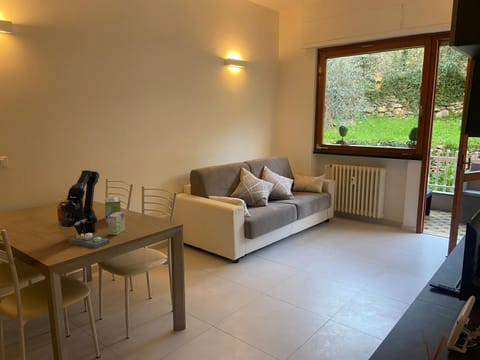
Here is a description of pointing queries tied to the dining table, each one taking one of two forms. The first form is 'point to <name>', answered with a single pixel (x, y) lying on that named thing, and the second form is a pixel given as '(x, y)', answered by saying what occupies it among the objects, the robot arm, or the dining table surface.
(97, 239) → the sage button
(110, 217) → the box
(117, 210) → the tea box
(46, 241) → the dining table surface
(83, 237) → the mustard button
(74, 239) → the button panel
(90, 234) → the cream button
